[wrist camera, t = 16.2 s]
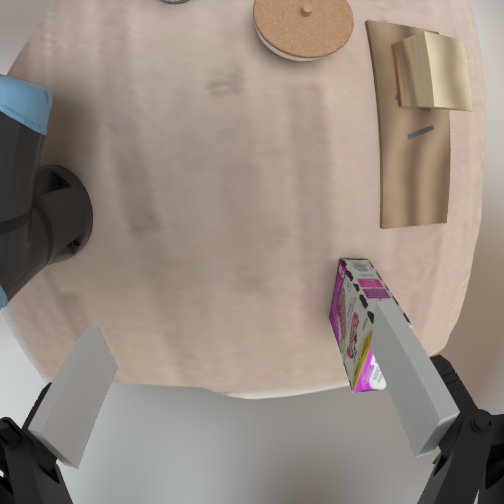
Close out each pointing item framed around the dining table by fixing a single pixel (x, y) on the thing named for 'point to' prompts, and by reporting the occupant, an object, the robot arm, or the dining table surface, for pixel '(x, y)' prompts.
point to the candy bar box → (358, 321)
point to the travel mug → (174, 1)
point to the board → (408, 142)
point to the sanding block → (432, 72)
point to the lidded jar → (303, 27)
